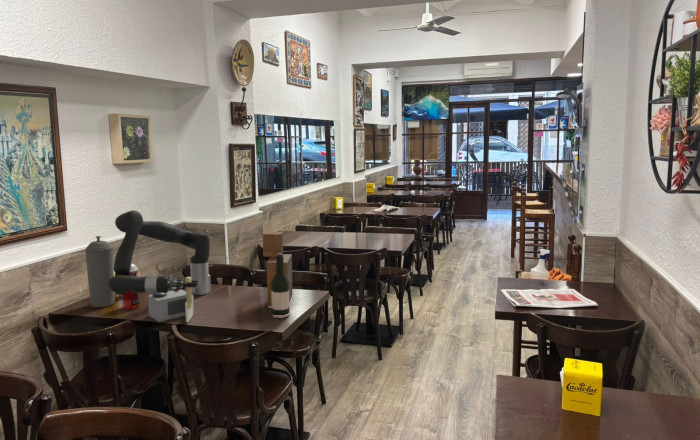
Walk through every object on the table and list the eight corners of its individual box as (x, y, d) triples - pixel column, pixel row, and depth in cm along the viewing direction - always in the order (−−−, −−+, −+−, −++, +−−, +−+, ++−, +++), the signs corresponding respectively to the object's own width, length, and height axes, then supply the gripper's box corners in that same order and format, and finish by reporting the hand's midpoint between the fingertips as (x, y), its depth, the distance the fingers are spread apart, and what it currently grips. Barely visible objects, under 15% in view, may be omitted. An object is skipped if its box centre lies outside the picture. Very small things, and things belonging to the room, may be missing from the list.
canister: (122, 301, 267) (118, 234, 262) (104, 309, 255) (100, 239, 249) (100, 299, 270) (96, 233, 265) (82, 307, 258) (77, 237, 252)
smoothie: (142, 293, 281) (140, 257, 278) (128, 297, 274) (126, 260, 271) (132, 291, 285) (130, 255, 282) (119, 295, 278) (116, 258, 275)
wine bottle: (281, 319, 242) (281, 256, 237) (268, 316, 246) (267, 254, 241) (293, 314, 249) (292, 253, 244) (279, 311, 253) (278, 251, 248)
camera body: (181, 308, 257) (180, 286, 255) (191, 314, 249) (190, 291, 247) (148, 315, 246) (147, 292, 244) (158, 321, 238) (157, 297, 236)
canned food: (134, 310, 254) (133, 288, 252) (119, 309, 255) (118, 287, 254) (143, 305, 261) (142, 284, 260) (129, 304, 263) (127, 283, 261)
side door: (191, 313, 248) (189, 271, 245) (197, 313, 249) (195, 271, 246) (185, 322, 236) (183, 278, 233) (192, 322, 236) (190, 278, 233)
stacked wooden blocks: (265, 296, 277) (264, 232, 272) (292, 297, 277) (291, 232, 272) (259, 308, 258) (257, 238, 253) (288, 308, 258) (287, 239, 253)
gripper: (153, 280, 226) (194, 279, 228) (160, 272, 240) (199, 271, 242) (153, 297, 227) (194, 296, 229) (161, 288, 241) (199, 287, 243)
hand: (196, 283), depth 235 cm, fingers closed on side door, 2 cm apart
